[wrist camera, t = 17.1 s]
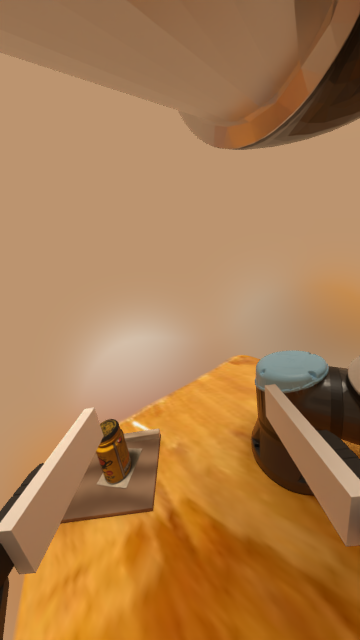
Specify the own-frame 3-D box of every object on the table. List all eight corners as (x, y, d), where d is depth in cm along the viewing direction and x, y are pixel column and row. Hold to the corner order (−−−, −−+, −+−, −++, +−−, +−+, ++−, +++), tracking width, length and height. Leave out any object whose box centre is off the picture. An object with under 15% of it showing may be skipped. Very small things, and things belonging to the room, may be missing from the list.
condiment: (96, 485, 37) (80, 441, 34) (117, 447, 45) (106, 409, 42) (126, 489, 36) (112, 443, 33) (142, 449, 44) (132, 410, 41)
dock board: (152, 510, 32) (150, 502, 32) (59, 523, 32) (56, 514, 32) (160, 435, 48) (159, 428, 47) (98, 444, 48) (95, 437, 47)
